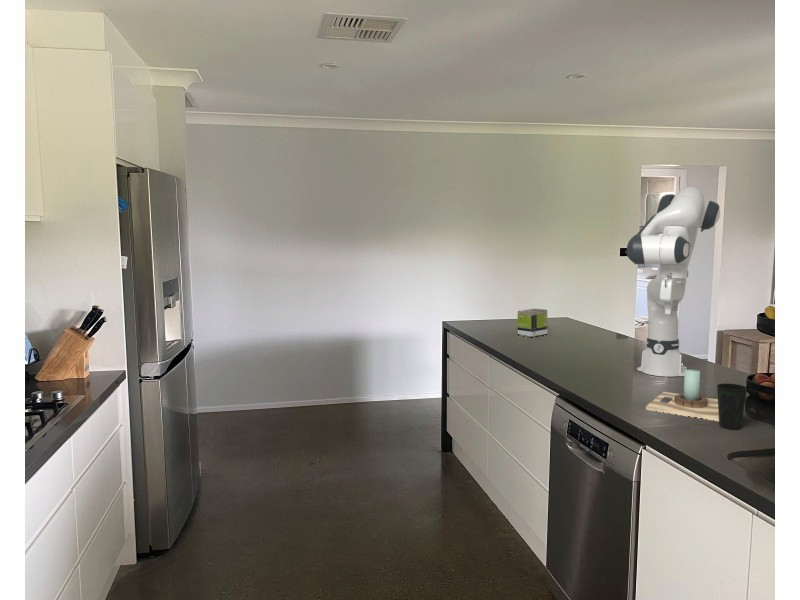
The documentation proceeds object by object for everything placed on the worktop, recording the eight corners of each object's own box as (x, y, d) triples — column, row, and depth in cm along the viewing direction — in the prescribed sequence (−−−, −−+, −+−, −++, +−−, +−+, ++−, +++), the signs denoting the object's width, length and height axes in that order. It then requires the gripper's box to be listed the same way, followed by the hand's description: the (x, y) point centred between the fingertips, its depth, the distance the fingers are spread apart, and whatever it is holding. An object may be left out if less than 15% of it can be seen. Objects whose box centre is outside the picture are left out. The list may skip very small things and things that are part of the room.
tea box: (533, 333, 344) (533, 308, 343) (547, 335, 337) (548, 309, 335) (516, 336, 335) (517, 310, 333) (531, 338, 327) (531, 311, 325)
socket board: (663, 395, 209) (663, 386, 209) (734, 405, 196) (734, 395, 195) (646, 409, 191) (646, 400, 191) (722, 422, 178) (723, 411, 178)
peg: (681, 401, 196) (683, 369, 195) (696, 402, 195) (697, 369, 194) (685, 405, 192) (686, 372, 191) (700, 406, 191) (701, 372, 190)
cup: (748, 426, 174) (750, 386, 173) (740, 432, 168) (742, 391, 167) (720, 421, 179) (721, 382, 178) (711, 427, 174) (713, 386, 173)
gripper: (676, 274, 195) (674, 316, 197) (689, 271, 211) (687, 310, 213) (655, 273, 199) (653, 314, 200) (670, 271, 215) (668, 309, 217)
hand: (671, 312), depth 207 cm, fingers open, 8 cm apart
